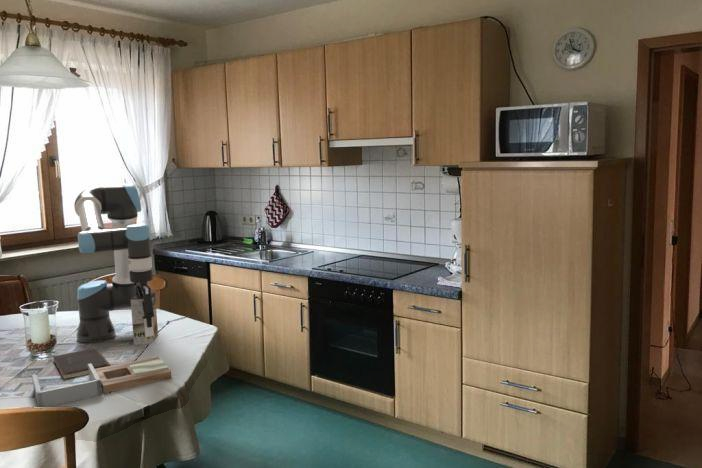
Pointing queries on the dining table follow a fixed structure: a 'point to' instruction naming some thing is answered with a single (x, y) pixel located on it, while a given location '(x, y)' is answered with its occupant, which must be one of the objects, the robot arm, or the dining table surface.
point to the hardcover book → (79, 362)
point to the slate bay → (68, 390)
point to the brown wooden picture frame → (133, 374)
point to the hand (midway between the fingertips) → (145, 331)
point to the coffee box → (142, 320)
